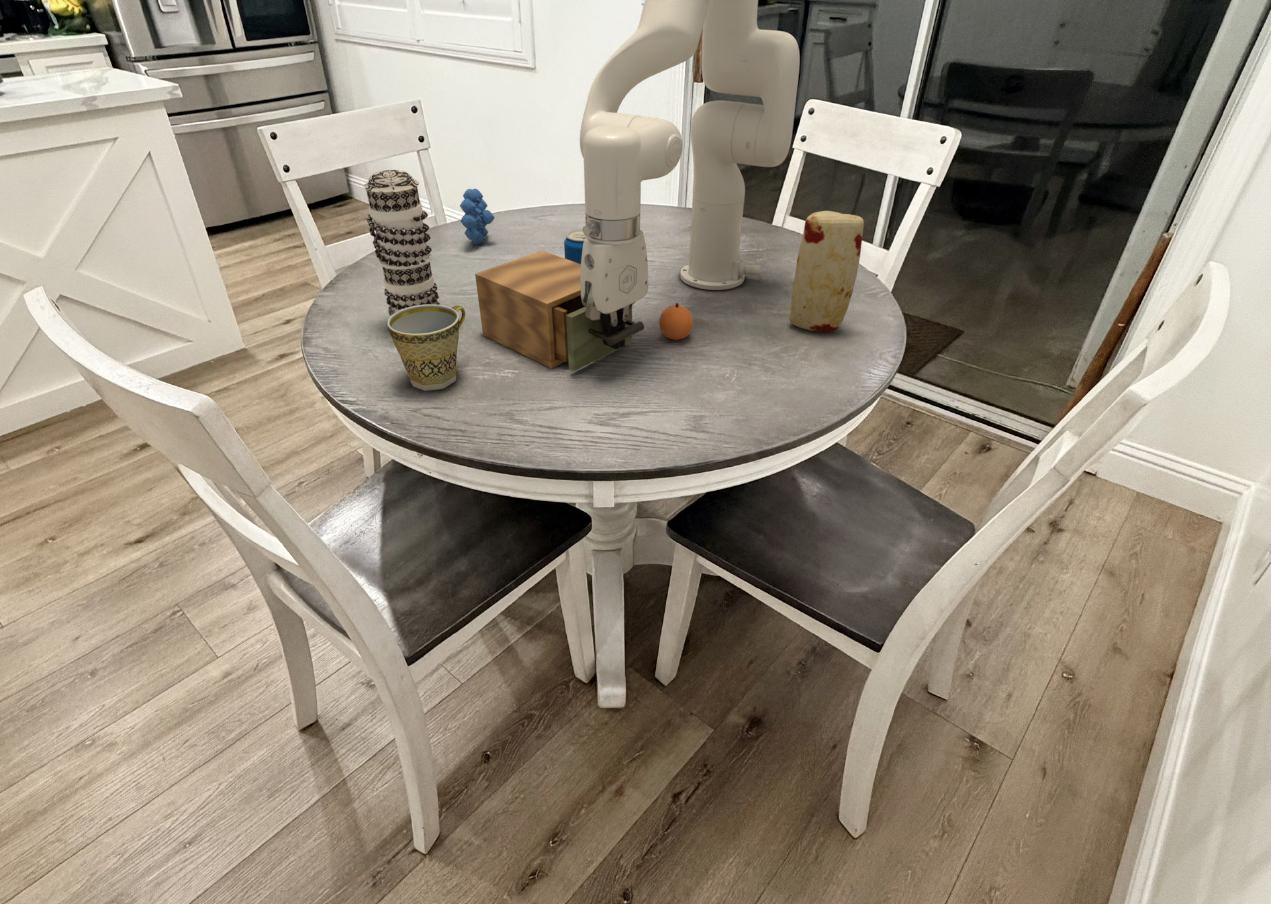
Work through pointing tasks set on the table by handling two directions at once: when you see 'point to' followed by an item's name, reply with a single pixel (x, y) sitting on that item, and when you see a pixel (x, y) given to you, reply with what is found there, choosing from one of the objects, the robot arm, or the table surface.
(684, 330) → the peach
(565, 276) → the cabinet
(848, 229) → the food model
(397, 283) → the decorative candle
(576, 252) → the beverage can
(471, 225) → the grapes
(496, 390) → the table surface
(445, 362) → the ceramic cup
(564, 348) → the drawer
